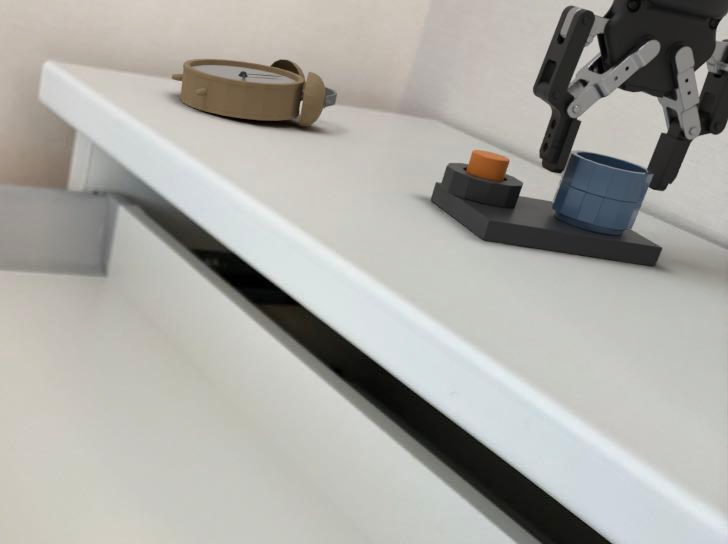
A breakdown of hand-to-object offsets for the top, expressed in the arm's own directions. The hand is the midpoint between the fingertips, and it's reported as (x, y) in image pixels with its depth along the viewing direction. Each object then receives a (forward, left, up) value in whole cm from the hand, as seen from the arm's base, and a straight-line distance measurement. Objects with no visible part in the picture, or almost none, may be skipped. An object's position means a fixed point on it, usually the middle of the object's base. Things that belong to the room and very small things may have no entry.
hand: (602, 179), depth 80 cm
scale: (+3, -1, -5) cm, 5 cm away
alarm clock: (+18, -31, -5) cm, 36 cm away
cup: (0, 0, -3) cm, 3 cm away
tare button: (+8, -3, -2) cm, 8 cm away
